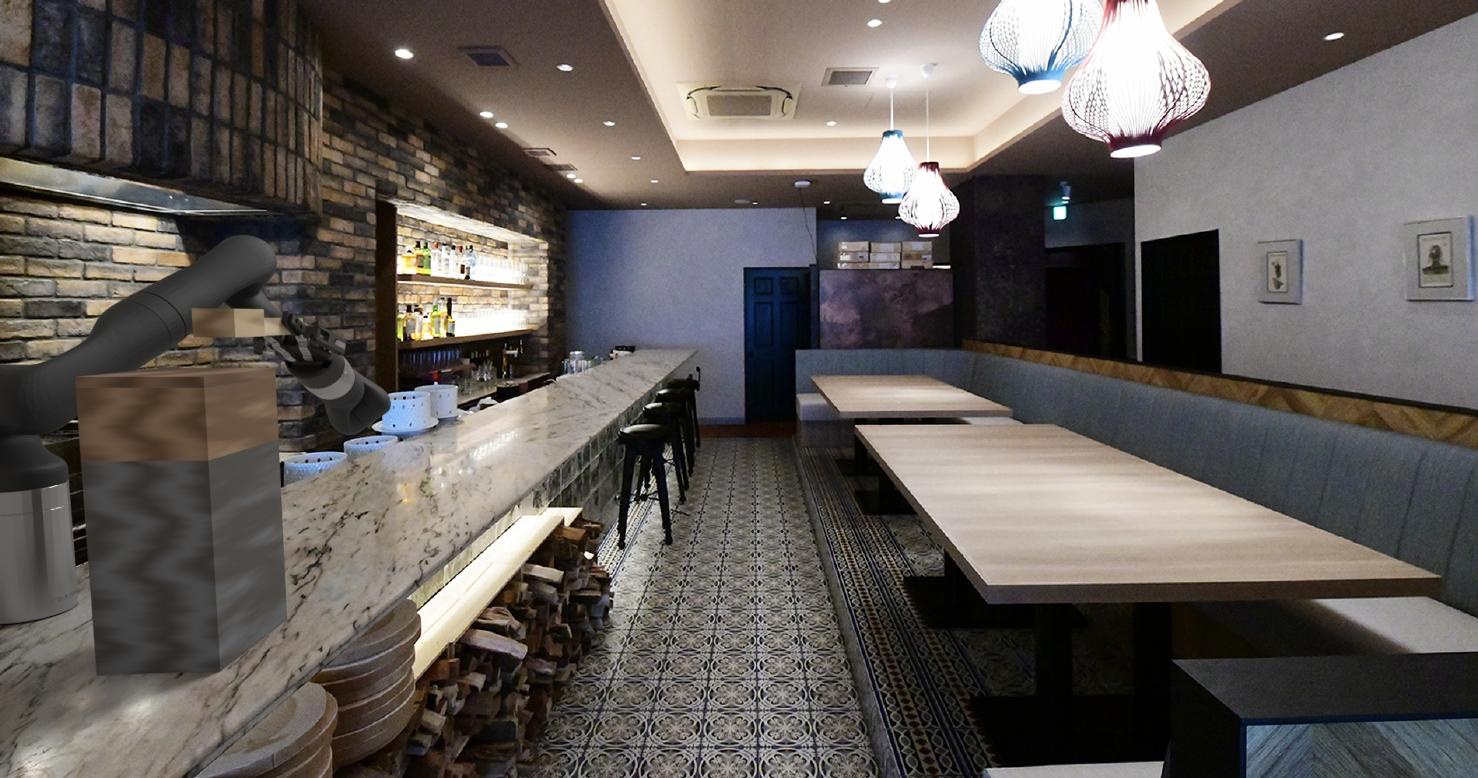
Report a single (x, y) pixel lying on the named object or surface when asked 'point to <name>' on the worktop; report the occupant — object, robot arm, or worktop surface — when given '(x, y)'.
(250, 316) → the wooden key
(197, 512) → the grey tall block
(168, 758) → the worktop surface
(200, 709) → the worktop surface
